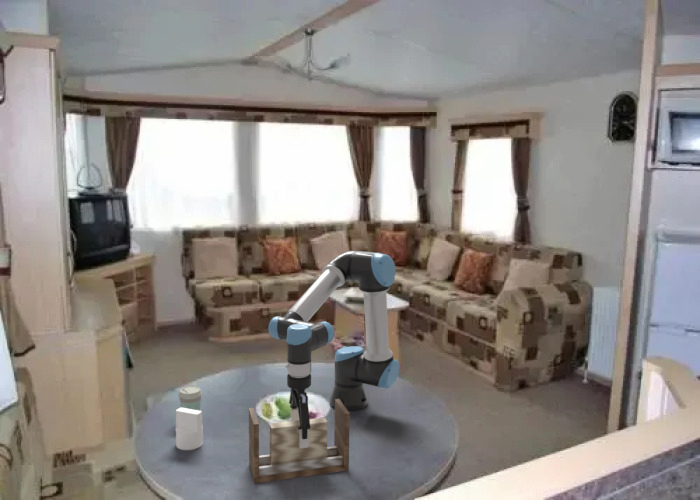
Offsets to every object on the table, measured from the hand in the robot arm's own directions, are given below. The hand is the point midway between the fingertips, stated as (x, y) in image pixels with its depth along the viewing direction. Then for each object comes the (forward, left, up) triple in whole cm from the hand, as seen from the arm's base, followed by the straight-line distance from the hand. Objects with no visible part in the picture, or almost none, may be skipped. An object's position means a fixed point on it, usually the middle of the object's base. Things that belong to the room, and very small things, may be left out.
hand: (299, 437), depth 185 cm
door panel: (0, 0, -9) cm, 9 cm away
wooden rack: (0, 0, -10) cm, 10 cm away
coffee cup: (+32, -44, -10) cm, 55 cm away
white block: (+33, -25, -10) cm, 43 cm away
